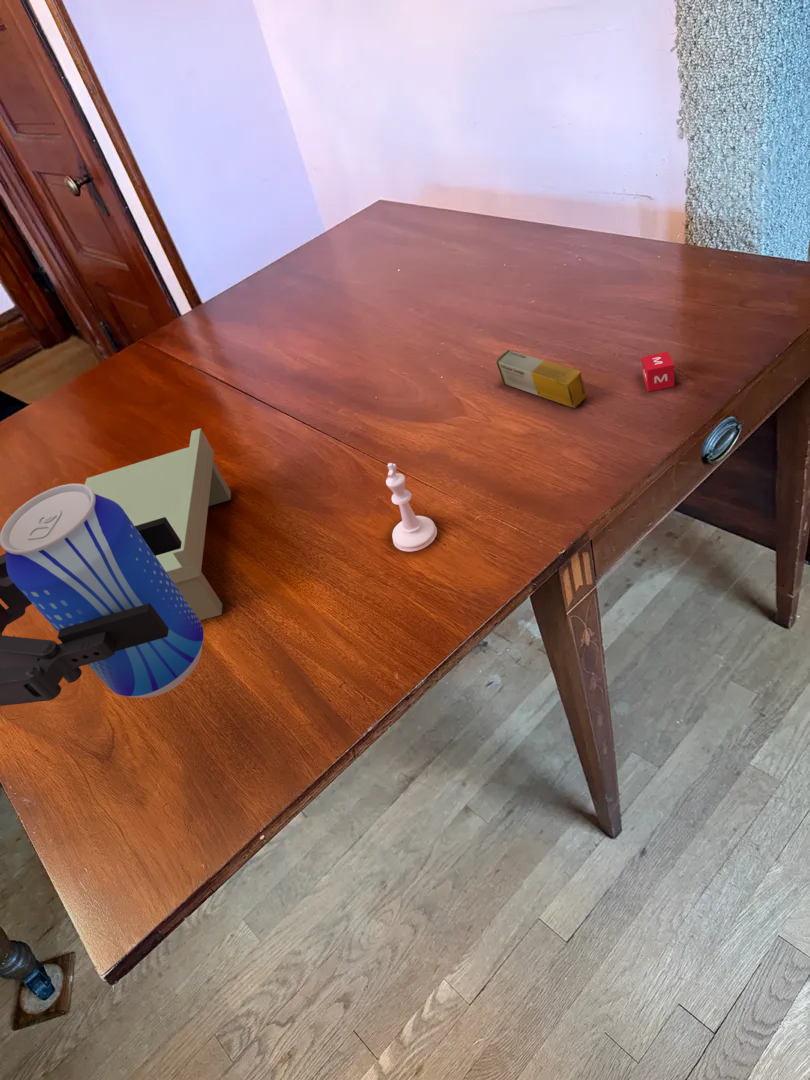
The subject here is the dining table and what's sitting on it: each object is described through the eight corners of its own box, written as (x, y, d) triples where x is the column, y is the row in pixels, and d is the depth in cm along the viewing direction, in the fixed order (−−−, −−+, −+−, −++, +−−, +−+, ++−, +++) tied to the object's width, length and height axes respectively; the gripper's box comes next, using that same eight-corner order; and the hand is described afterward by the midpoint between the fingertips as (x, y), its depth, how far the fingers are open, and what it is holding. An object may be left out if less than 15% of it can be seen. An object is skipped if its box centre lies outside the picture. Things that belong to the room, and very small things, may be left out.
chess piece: (388, 552, 80) (360, 482, 73) (398, 520, 83) (373, 450, 77) (432, 551, 78) (407, 479, 72) (441, 518, 82) (418, 447, 75)
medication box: (502, 385, 97) (494, 360, 94) (515, 373, 98) (508, 348, 95) (574, 409, 89) (567, 383, 86) (588, 395, 90) (582, 369, 87)
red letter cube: (674, 386, 88) (674, 364, 86) (648, 392, 88) (647, 370, 86) (668, 373, 90) (667, 351, 88) (642, 378, 90) (641, 357, 88)
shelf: (87, 654, 81) (33, 594, 74) (119, 524, 97) (77, 465, 91) (226, 614, 80) (183, 549, 73) (234, 490, 96) (200, 427, 89)
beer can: (96, 670, 61) (-30, 530, 50) (180, 605, 64) (78, 460, 53) (139, 726, 55) (8, 581, 45) (230, 651, 58) (127, 500, 48)
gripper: (-40, 590, 66) (201, 518, 64) (-141, 812, 50) (175, 725, 48) (-100, 529, 61) (159, 449, 59) (-233, 754, 45) (115, 655, 43)
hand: (166, 573), depth 54 cm, fingers closed on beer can, 8 cm apart
